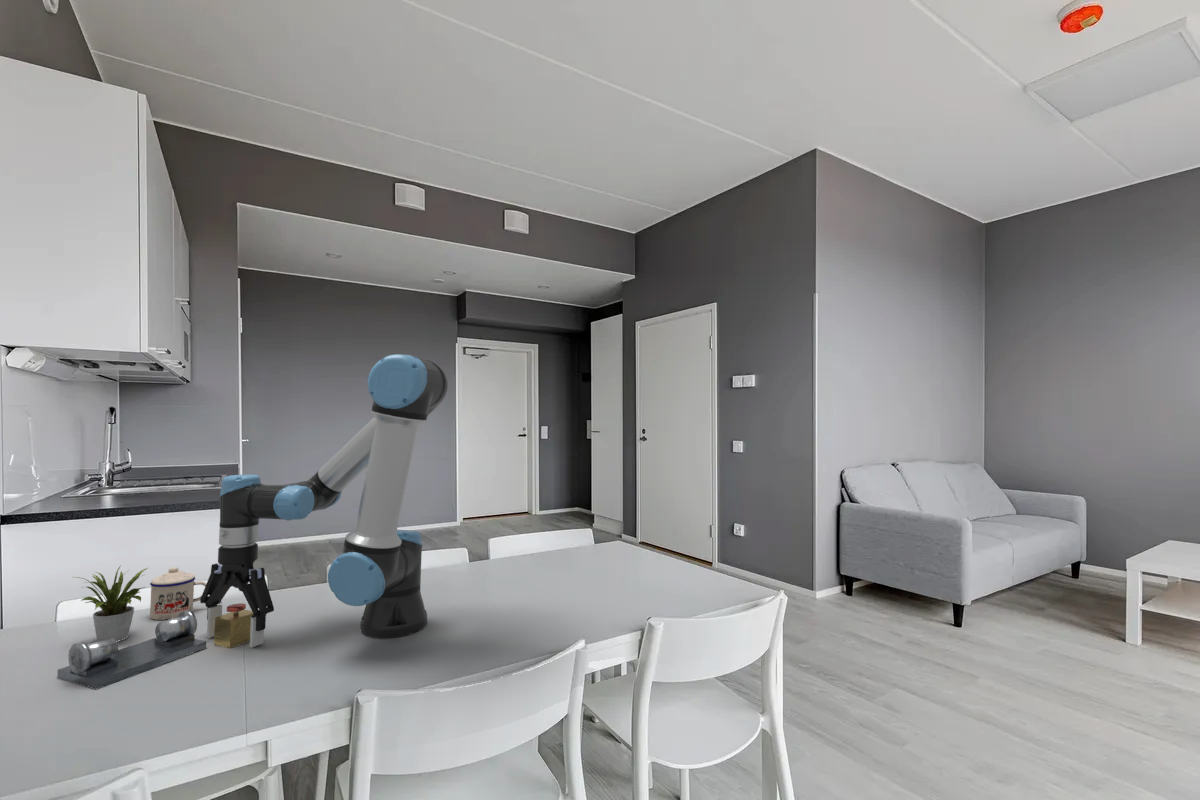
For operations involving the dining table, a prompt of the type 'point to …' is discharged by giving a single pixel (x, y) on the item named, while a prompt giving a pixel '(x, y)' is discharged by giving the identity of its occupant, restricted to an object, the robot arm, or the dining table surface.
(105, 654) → the pipe run
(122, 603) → the house plant
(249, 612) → the brass valve
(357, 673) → the dining table surface
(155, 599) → the teacup with lid
